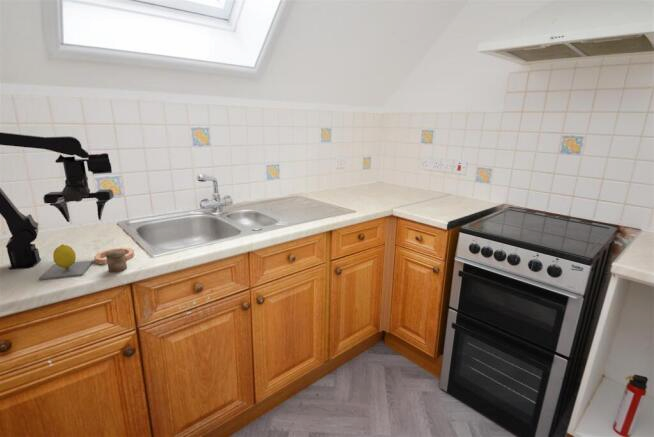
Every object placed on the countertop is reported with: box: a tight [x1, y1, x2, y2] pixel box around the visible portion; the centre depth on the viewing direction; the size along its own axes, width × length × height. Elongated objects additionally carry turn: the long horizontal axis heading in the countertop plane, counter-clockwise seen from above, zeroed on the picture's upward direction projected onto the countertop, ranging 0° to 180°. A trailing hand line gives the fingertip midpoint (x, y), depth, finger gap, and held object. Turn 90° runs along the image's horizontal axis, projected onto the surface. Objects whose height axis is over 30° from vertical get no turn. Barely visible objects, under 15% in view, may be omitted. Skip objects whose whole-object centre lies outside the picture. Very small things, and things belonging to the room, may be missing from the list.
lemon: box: [52, 244, 77, 269], centre depth 109 cm, size 6×6×8 cm
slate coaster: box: [38, 259, 94, 281], centre depth 110 cm, size 11×11×1 cm
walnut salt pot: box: [105, 249, 128, 273], centre depth 110 cm, size 5×5×6 cm
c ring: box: [93, 247, 135, 265], centre depth 120 cm, size 11×11×2 cm
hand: (84, 220), depth 121 cm, fingers open, 9 cm apart
